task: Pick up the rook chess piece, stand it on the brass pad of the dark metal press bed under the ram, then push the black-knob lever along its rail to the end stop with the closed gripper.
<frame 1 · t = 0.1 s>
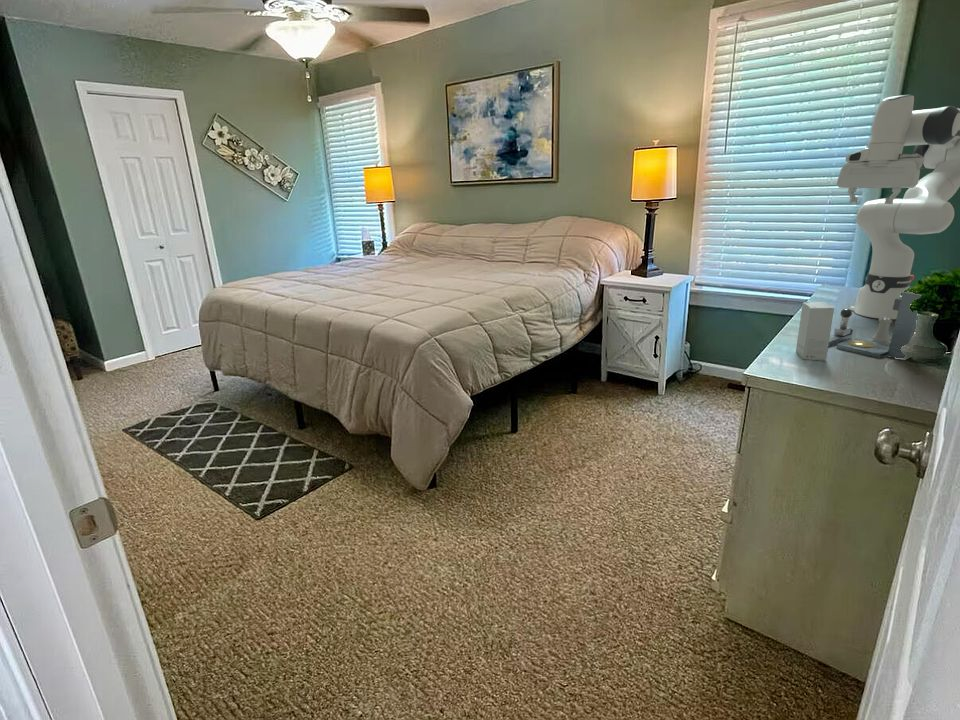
hand: (870, 203, 155), 39 cm above the dresser top, tool pointing down, fingers open, 8 cm apart
rook chess piece: (879, 344, 151), on the dresser top
press: (864, 349, 146), on the dresser top
skincare box: (809, 356, 144), on the dresser top
lever: (844, 321, 153), point 6 cm above the dresser top, slide at 0.0 cm
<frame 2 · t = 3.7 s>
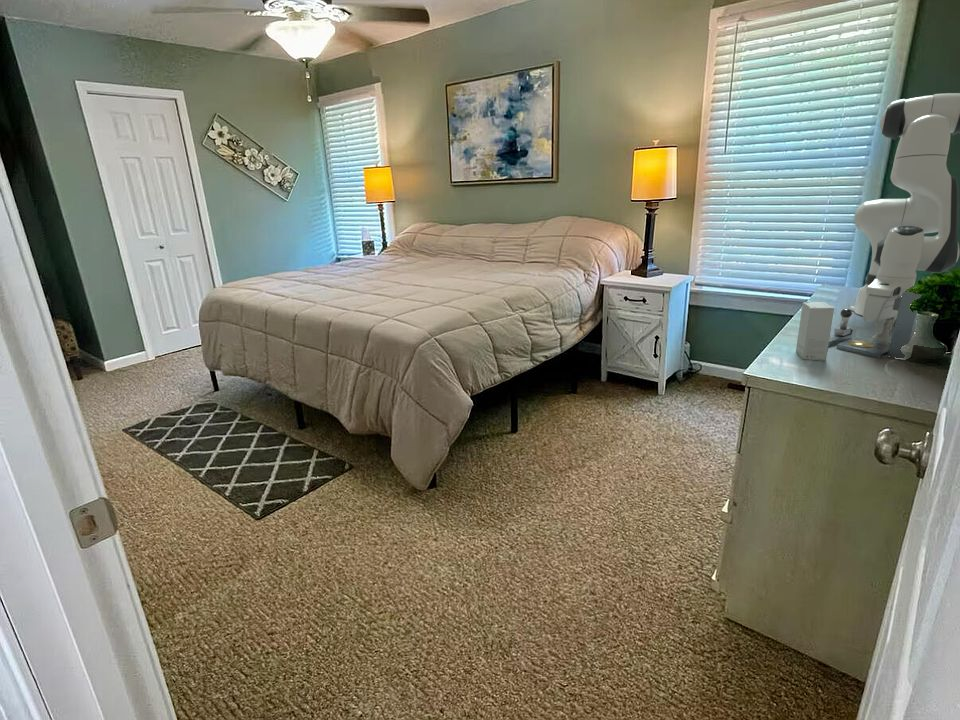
hand: (882, 331, 149), 4 cm above the dresser top, tool pointing down, fingers closed on rook chess piece, 3 cm apart
rook chess piece: (879, 344, 151), on the dresser top, touching gripper
everything else where it was.
when the fingers open (7 cm above the dresser top, at t = 7.6 s): rook chess piece stays where it is, resting on press.
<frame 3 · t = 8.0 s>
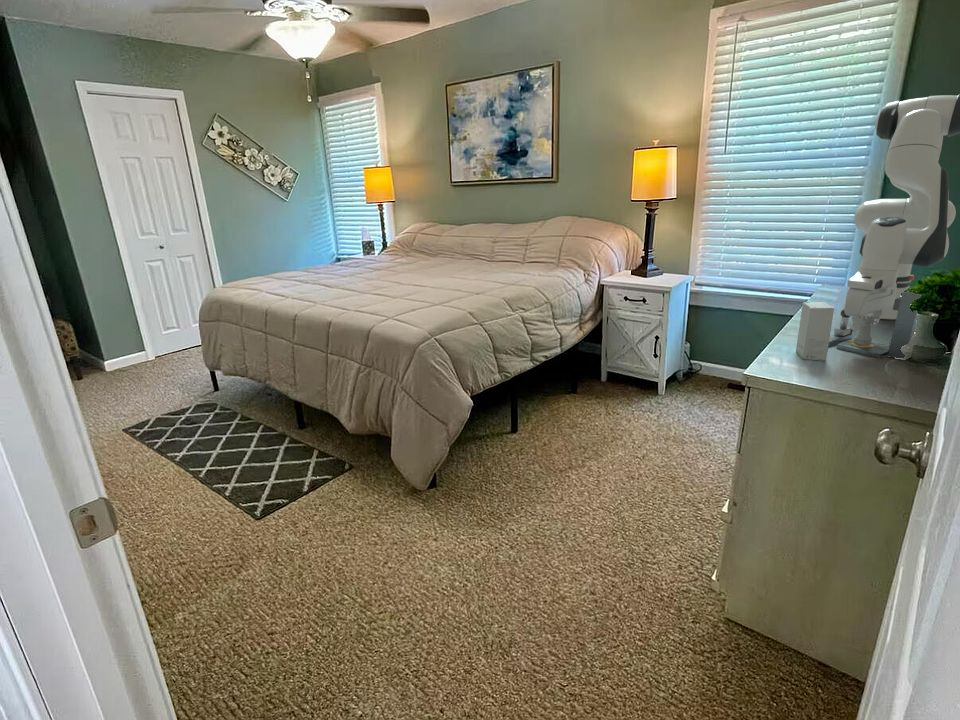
hand: (865, 326, 145), 7 cm above the dresser top, tool pointing down, fingers open, 8 cm apart
rook chess piece: (861, 344, 147), point 1 cm above the dresser top, touching press
everything else where it was.
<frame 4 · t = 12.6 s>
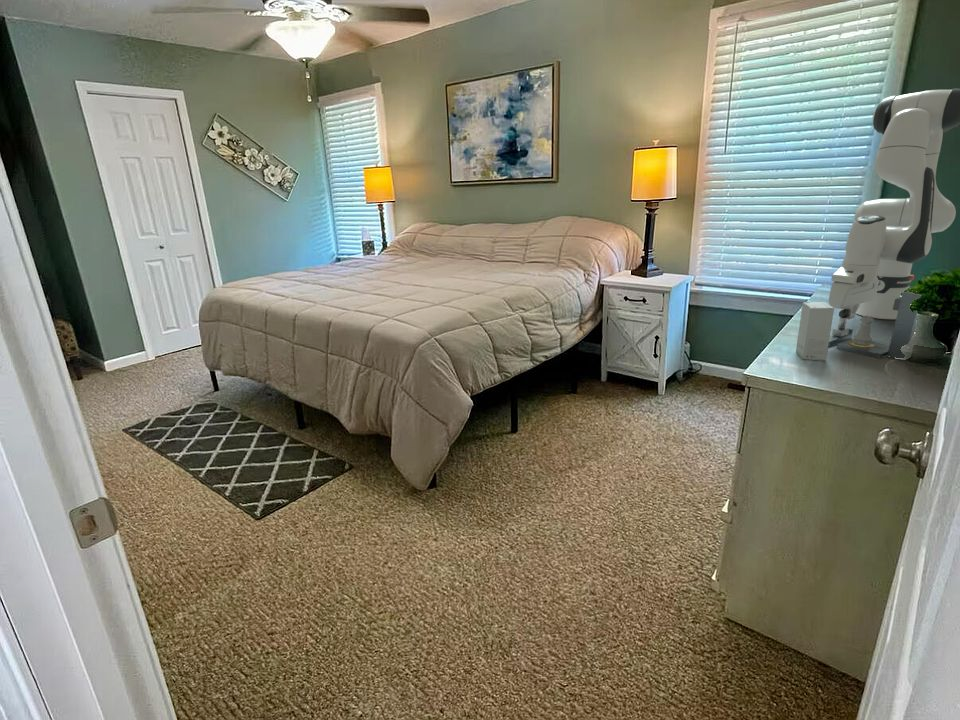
hand: (848, 318, 154), 6 cm above the dresser top, tool pointing down, fingers closed
lever: (842, 322, 153), point 6 cm above the dresser top, slide at 1.1 cm, touching gripper
everything else where it was.
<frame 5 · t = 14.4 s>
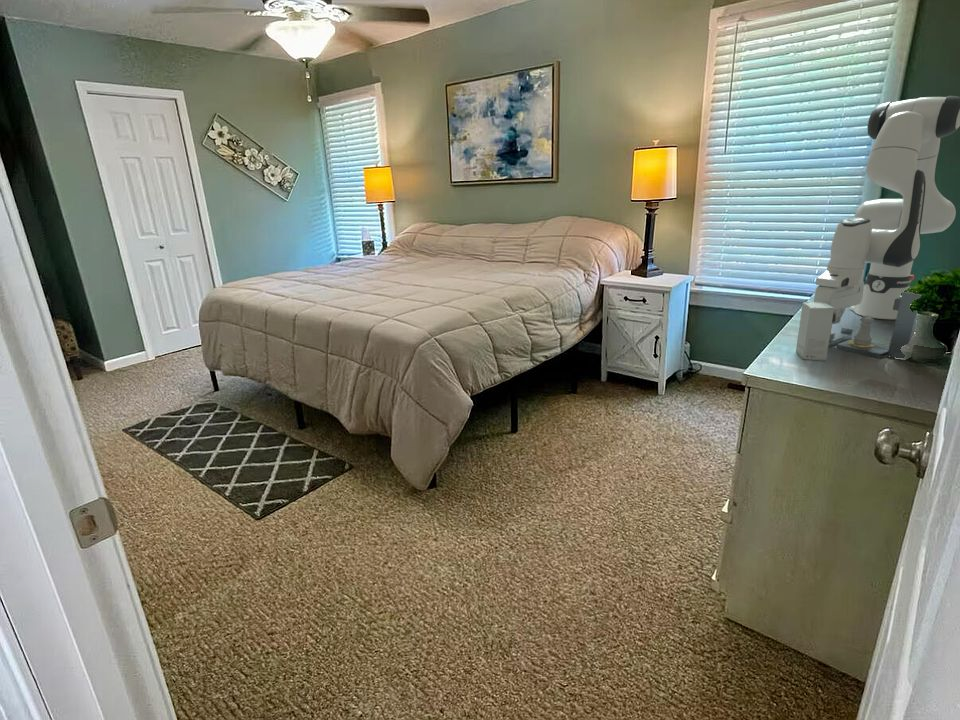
hand: (834, 323, 150), 6 cm above the dresser top, tool pointing down, fingers closed
lever: (828, 326, 149), point 6 cm above the dresser top, slide at 9.1 cm, touching gripper
everything else where it was.
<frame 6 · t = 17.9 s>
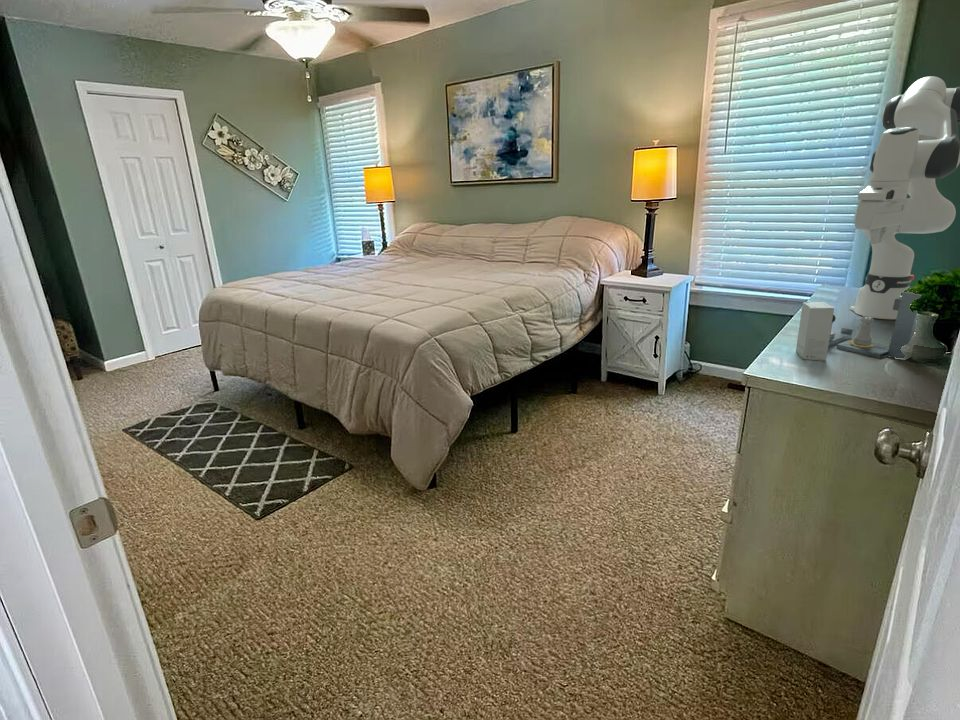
hand: (875, 243, 143), 29 cm above the dresser top, tool pointing down, fingers closed
lever: (828, 326, 149), point 6 cm above the dresser top, slide at 9.0 cm
everything else where it was.
at the end: rook chess piece 0.1 cm from the target spot on the press, point 1.3 cm above the press's base; rook chess piece tilted 0°; lever slide at 9.0 cm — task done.
